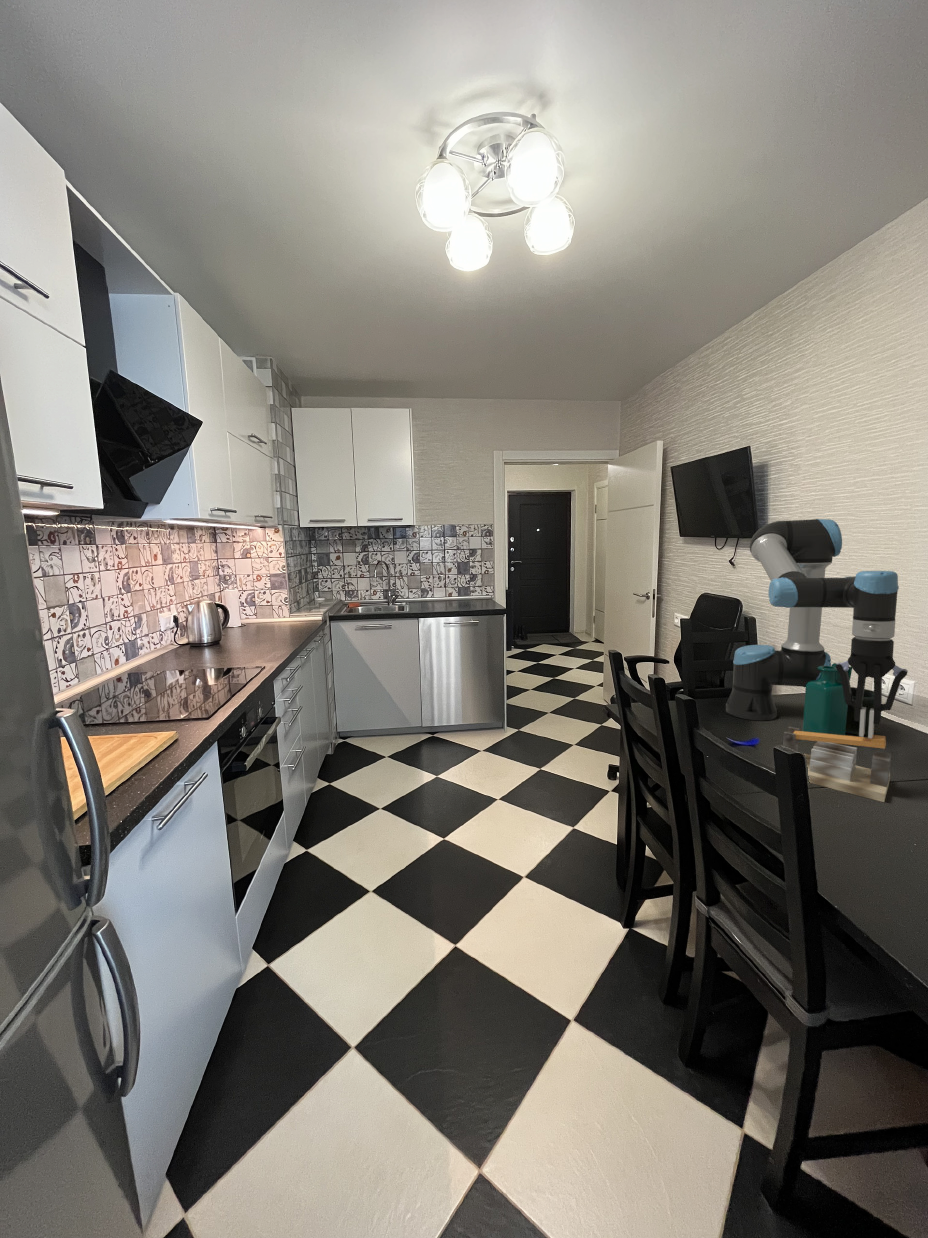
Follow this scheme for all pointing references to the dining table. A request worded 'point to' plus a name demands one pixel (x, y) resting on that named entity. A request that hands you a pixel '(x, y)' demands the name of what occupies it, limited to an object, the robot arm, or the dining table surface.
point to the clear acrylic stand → (844, 768)
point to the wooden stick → (843, 739)
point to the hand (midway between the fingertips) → (866, 735)
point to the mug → (851, 724)
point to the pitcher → (826, 703)
